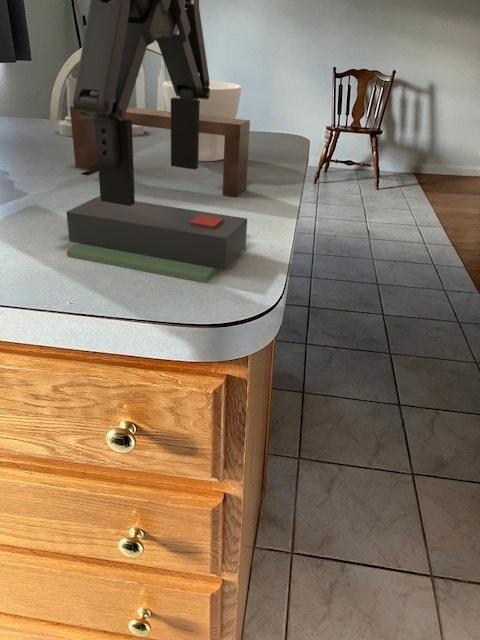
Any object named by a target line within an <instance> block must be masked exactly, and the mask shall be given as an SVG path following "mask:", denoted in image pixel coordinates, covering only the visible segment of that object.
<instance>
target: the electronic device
mask: <svg viewBox="0 0 480 640" xmlns="http://www.w3.org/2000/svg"><path fill="white" fill-rule="evenodd" d="M65 79H66V80H65V81H66V94H67V97H66V105H67V116H65V117H64V120H61V121H59V122H58V130H59V131H58V132H59V135H61V136H65V137H73V135H72V124H71V113H70V106H72V105H73V99H74V93H75V87H76V81H77V78H72V77H71V78H70V77H69V78H68V77H67V78H65ZM144 134H145V126H138V125H132V137H133V136H141V135H144Z"/></svg>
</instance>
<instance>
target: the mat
mask: <svg viewBox="0 0 480 640" xmlns="http://www.w3.org/2000/svg"><path fill="white" fill-rule="evenodd" d="M66 257H68V258H74V259H78V260H79V259H80V260H84V261H85V260H86V261H89V262H96V263H100V264H106V265H111V266H117V267H121V268H127V269H132V270H138V271H143V272H146V273H147V272H148V273H153V274H157V275H162V276H168V277H174V278H178V279H179V278H180V279H185V280H190V281H194V282H200V283H208V282H209V281H210V280H211V278H213V276H214V275H216V273H218V271H220V269H217V268H212V267H207V266H201V265H196V264H190V263H185V262H179V261H174V260H168V259H163V258H157V257H152V256H147V255H141V254H136V253H130V252H125V251H119V250H114V249H108V248H103V247H97V246H92V245H86V244H81V243H77V244H75V245H74V246H72V247H69V248H68V249H67V250H66Z"/></svg>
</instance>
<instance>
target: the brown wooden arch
mask: <svg viewBox="0 0 480 640" xmlns="http://www.w3.org/2000/svg"><path fill="white" fill-rule="evenodd" d="M70 113H71V124H72V135H73V136H72V144H73V154H74V166H75V169H76V168H77V169H83V170H86V171H84V172H81V173H80V175H81V176H90V175H93V174H95V173H99V168H98V158H97V148H96V144H97V143H96V133H95V122H94V119H93V118H92V117H85V116H82V115H81V114H80V112H79V111H76V110H75V108H74V105H72V106H70ZM124 119H128V120H132V125H138V126H144V127H148V128H157V129H166V130H171V112H168V111H167V110H158V109H149V108H139V107H131V106H128V108H127V111H126V114H125V117H124ZM250 127H251V120H250V119H244V118H243V119H241V118H235V119H233V118H224V117H215V116H205V115H199V133H207V134H216V135H224V136H225V141H224V159H223V168H222V169H223V171H222V196H227V197H232V198H238V197H239V196H241V194H243V193H244V192H245V191H246V190H247V181H248V179H247V178H248V165H249V163H248V162H249V146H250V145H249V144H250Z"/></svg>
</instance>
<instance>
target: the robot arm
mask: <svg viewBox="0 0 480 640" xmlns="http://www.w3.org/2000/svg"><path fill="white" fill-rule="evenodd" d="M155 41H156V43H157V45H158V48H159V51H160V53H161V56H162V59H163V62H164V65H165V68H166V70H167V74H168V76H169V79H170V81H171V82H172V85H173V88H174V91H175V93H176V96H180V98H171V129H170V166H171V167H176V168H180V169H181V168H182V169H189V170H198V169H199V161H198V151H199V107H200V100H198V99H206V100H208V99H209V96H210V88H209V85H210V82H209V81H210V75H209V69H208V62H207V53H206V46H205V40H204V32H203V25H202V18H201V11H200V0H90V2H89V8H88V13H87V19H86V25H85V31H84V35H83V42H82V47H81V54H80V59H79V65H78V70H77V77H76V79H77V81H76V87H75V93H74V99H73V105H74V108H75V110H76V111H79V112H80V114H81V115H82V116H85V117H92V118H93V119H94V122H95V133H96V143H97V144H96V148H97V158H98V166H97V167H98V168H99V171H98V182H99V196H100V198H101V201H103V202H109V203H115V204H121V205H127V206H131V205H133V204H135V201H136V200H135V173H134V172H135V170H134V143H133V142H134V139H133V136H132V120H128V119H124V117H125V114H126V111H127V108H128V107H129V105H130V102H131V98H132V95H133V92H134V89H135V86H136V82H137V79H138V77H139V73H140V70H141V67H142V64H143V62H144V61H143V60H144V58H145V55H146V50H147V48H148V46H149V45H152V44H153V43H155Z"/></svg>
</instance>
